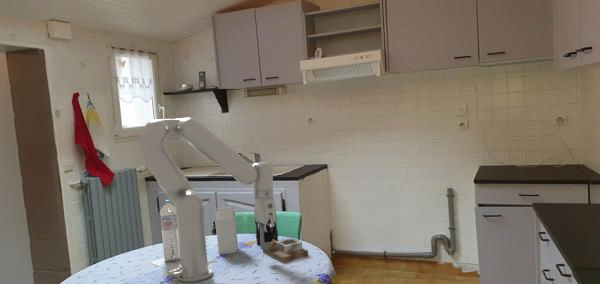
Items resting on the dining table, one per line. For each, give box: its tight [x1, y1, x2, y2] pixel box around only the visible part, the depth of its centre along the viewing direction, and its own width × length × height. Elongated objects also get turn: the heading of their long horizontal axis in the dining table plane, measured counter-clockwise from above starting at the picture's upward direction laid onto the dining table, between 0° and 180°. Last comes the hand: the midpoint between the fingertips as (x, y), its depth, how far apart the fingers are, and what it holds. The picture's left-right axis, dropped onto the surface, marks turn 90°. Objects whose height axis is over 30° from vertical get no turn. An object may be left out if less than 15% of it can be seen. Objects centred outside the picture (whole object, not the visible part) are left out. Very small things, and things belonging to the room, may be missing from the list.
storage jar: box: [254, 208, 279, 247], centre depth 197 cm, size 10×10×15 cm
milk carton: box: [215, 206, 239, 255], centre depth 189 cm, size 7×7×19 cm
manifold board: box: [262, 237, 309, 264], centre depth 180 cm, size 12×16×5 cm
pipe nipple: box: [259, 222, 271, 251], centre depth 172 cm, size 5×5×10 cm
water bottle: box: [159, 199, 181, 262], centre depth 183 cm, size 7×7×25 cm
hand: (265, 239), depth 172 cm, fingers closed on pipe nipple, 4 cm apart
